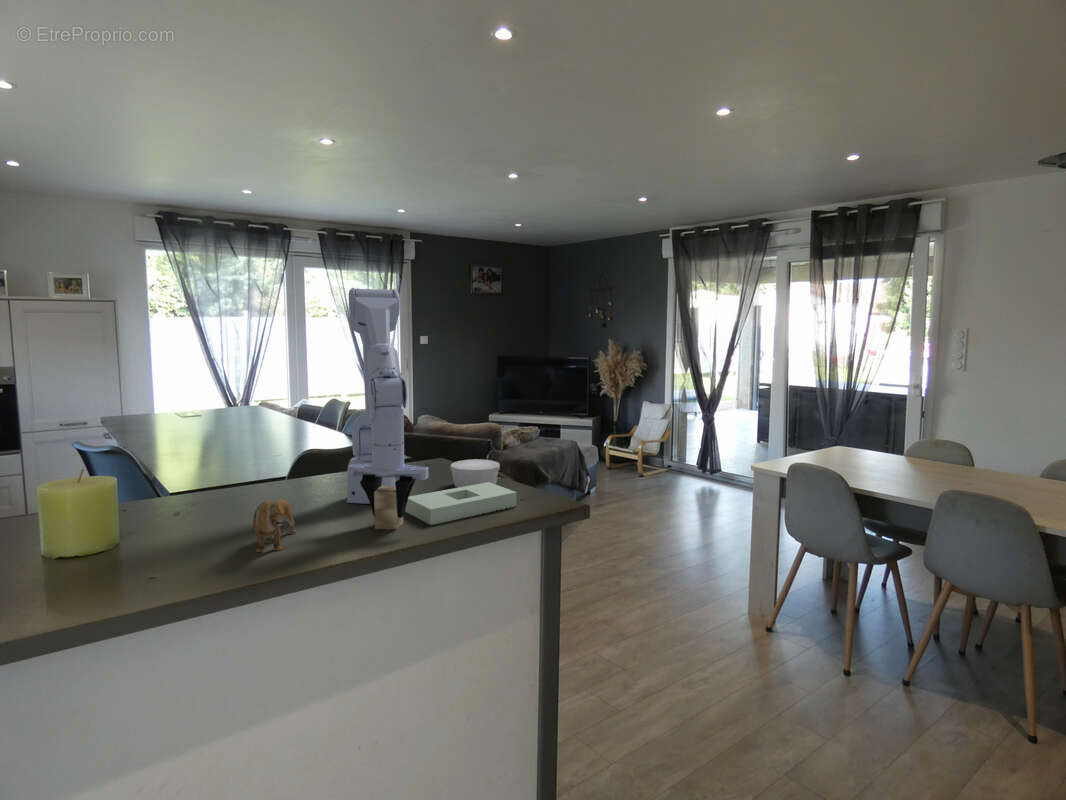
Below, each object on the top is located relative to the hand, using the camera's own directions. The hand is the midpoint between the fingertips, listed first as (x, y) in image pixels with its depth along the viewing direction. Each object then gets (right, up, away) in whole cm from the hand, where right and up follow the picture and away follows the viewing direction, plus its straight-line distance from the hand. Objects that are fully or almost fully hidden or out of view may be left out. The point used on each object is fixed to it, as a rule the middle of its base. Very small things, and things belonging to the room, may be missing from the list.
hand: (389, 515), depth 115 cm
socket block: (+12, -1, +11) cm, 16 cm away
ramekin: (+13, +1, +29) cm, 32 cm away
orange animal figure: (-16, -3, -10) cm, 20 cm away
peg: (0, -2, 0) cm, 2 cm away
